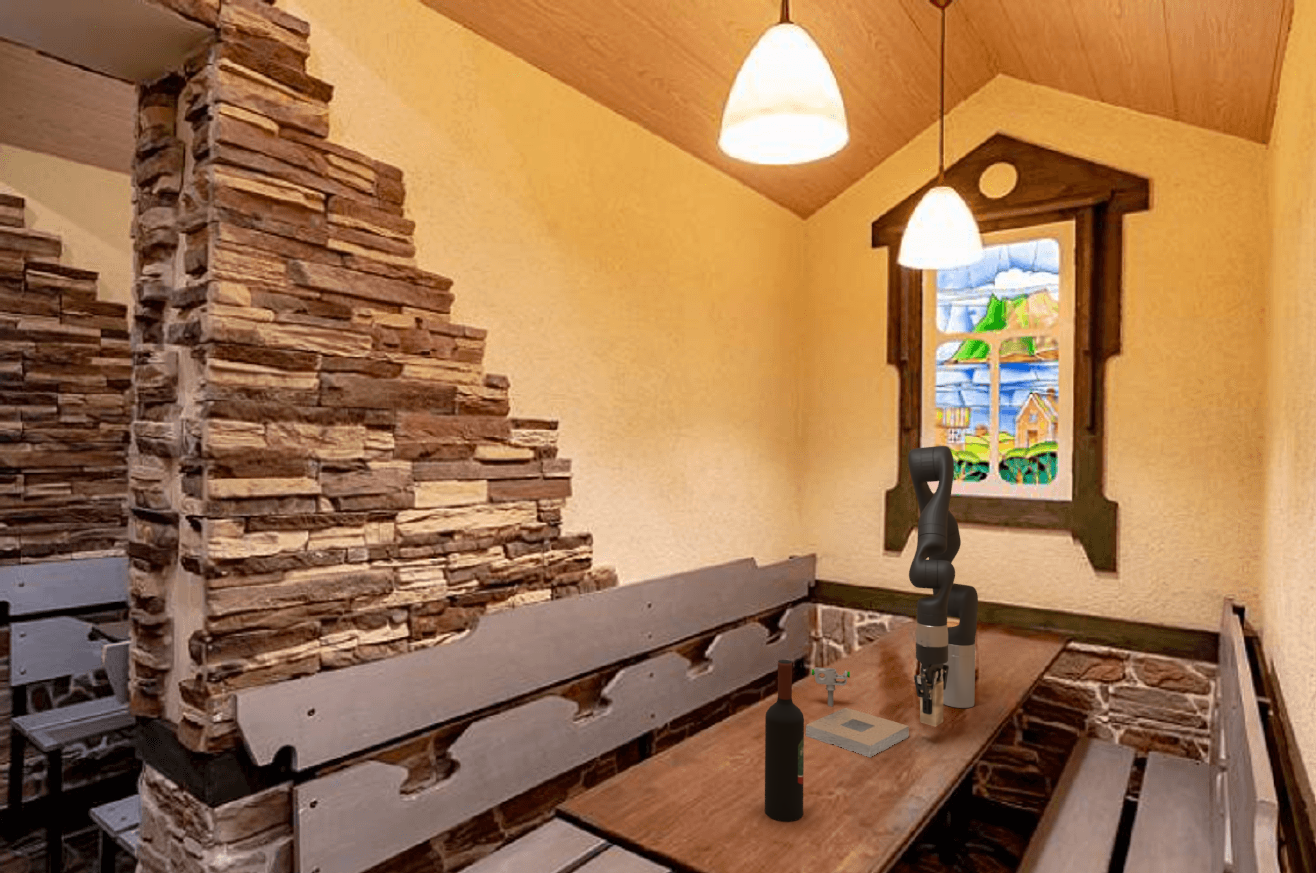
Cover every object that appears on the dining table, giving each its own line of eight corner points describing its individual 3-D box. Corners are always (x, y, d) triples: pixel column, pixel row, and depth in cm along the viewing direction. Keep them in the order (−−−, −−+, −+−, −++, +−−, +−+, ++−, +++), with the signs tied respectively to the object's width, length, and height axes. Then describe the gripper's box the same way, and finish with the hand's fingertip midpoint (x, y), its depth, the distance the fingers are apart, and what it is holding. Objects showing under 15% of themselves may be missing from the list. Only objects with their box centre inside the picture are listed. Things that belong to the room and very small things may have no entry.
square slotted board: (845, 717, 209) (845, 707, 209) (908, 737, 196) (908, 725, 196) (805, 735, 196) (805, 724, 196) (870, 757, 183) (870, 745, 183)
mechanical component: (849, 709, 216) (850, 672, 215) (811, 706, 218) (811, 669, 217) (849, 705, 218) (849, 669, 218) (811, 702, 220) (811, 666, 220)
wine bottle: (760, 804, 160) (762, 656, 160) (797, 802, 161) (798, 655, 161) (769, 822, 153) (770, 667, 152) (807, 821, 153) (809, 667, 153)
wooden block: (927, 717, 196) (927, 677, 196) (943, 722, 193) (943, 681, 193) (920, 722, 193) (920, 681, 193) (935, 726, 190) (935, 685, 190)
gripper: (930, 632, 200) (930, 700, 201) (903, 644, 190) (903, 714, 191) (959, 638, 195) (959, 707, 195) (933, 650, 185) (932, 723, 185)
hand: (931, 710), depth 193 cm, fingers closed on wooden block, 4 cm apart
